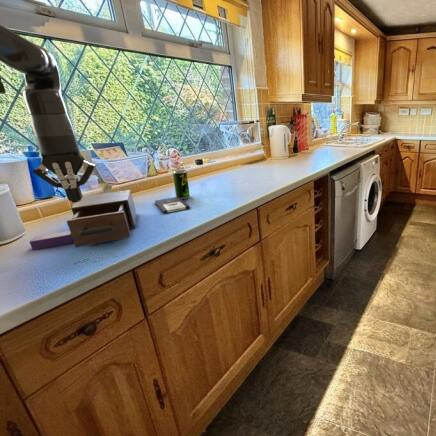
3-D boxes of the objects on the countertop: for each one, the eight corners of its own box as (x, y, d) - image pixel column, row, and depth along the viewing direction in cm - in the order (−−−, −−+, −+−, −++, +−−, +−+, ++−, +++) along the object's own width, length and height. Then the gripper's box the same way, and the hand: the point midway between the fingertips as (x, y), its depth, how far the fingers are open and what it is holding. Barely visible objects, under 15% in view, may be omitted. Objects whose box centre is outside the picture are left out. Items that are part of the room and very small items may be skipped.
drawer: (129, 242, 84) (122, 216, 82) (72, 254, 79) (62, 226, 76) (132, 222, 100) (126, 200, 97) (85, 230, 94) (77, 207, 92)
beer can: (173, 198, 128) (169, 170, 125) (182, 195, 134) (178, 168, 130) (184, 199, 127) (180, 171, 124) (192, 196, 132) (189, 169, 129)
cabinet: (135, 228, 97) (127, 199, 94) (81, 238, 91) (71, 207, 88) (136, 215, 110) (130, 189, 107) (89, 222, 104) (81, 196, 101)
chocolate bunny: (98, 208, 120) (90, 183, 117) (118, 202, 127) (111, 179, 123) (106, 209, 118) (99, 185, 114) (126, 204, 124) (120, 180, 121)
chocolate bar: (178, 196, 129) (189, 205, 115) (178, 198, 129) (189, 208, 116) (155, 200, 124) (163, 210, 110) (155, 202, 124) (163, 213, 111)
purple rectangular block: (32, 250, 84) (29, 241, 83) (37, 245, 87) (33, 236, 86) (73, 242, 88) (70, 234, 87) (75, 238, 91) (73, 230, 90)
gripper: (91, 131, 80) (109, 195, 85) (26, 134, 74) (50, 201, 80) (83, 133, 73) (103, 201, 79) (12, 136, 68) (38, 209, 74)
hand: (76, 201), depth 80 cm, fingers closed
